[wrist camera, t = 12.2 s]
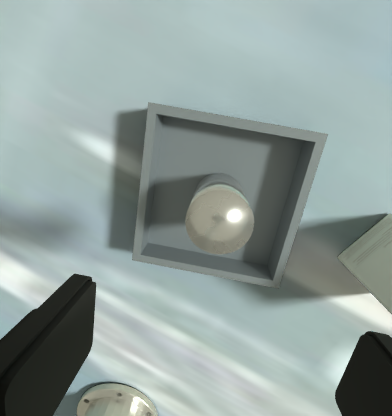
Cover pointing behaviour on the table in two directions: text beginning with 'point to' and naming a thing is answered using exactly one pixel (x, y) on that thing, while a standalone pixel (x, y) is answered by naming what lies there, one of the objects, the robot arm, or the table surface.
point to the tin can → (219, 215)
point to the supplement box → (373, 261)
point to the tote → (231, 165)
